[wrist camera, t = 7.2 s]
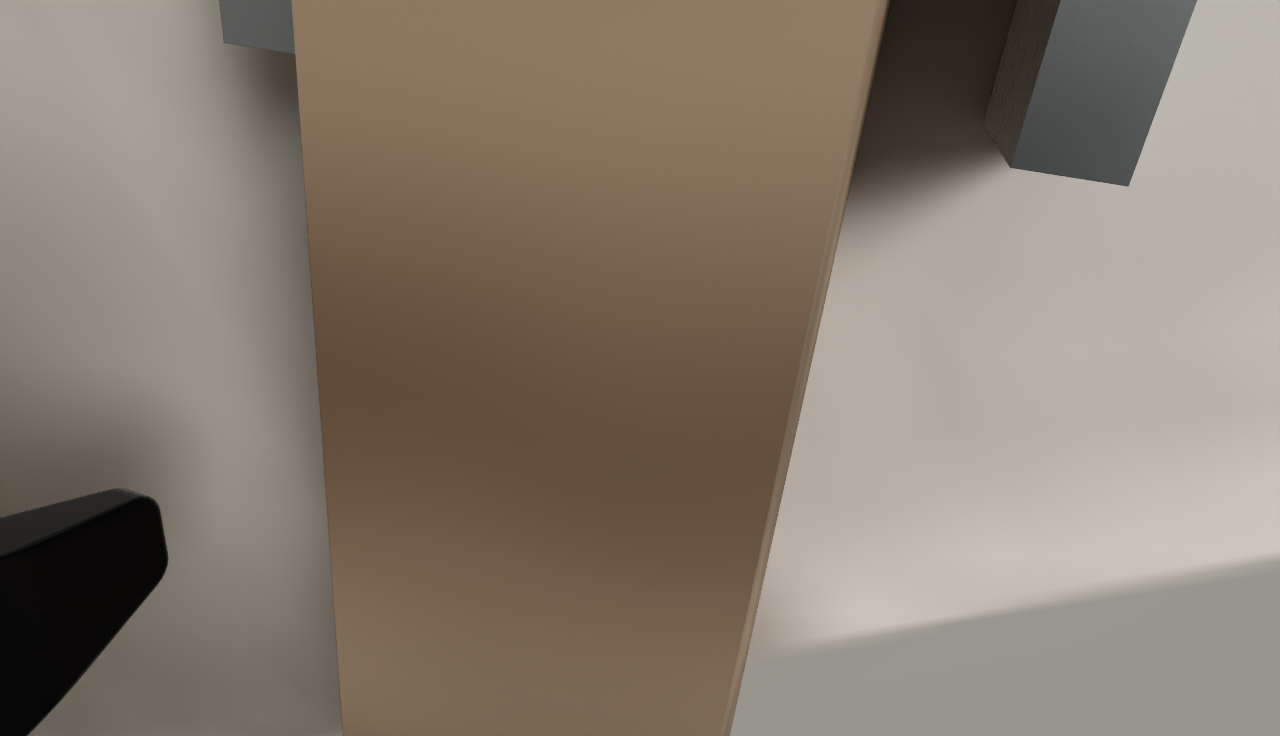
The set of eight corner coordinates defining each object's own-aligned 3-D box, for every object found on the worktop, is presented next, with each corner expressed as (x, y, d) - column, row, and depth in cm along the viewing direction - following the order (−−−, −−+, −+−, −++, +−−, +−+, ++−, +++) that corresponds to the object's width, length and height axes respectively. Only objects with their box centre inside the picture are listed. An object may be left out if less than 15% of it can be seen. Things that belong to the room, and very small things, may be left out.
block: (729, 733, 13) (662, 1008, 9) (495, 658, 14) (353, 883, 10) (992, -463, 7) (1083, -962, 3) (543, -462, 8) (230, -860, 4)
